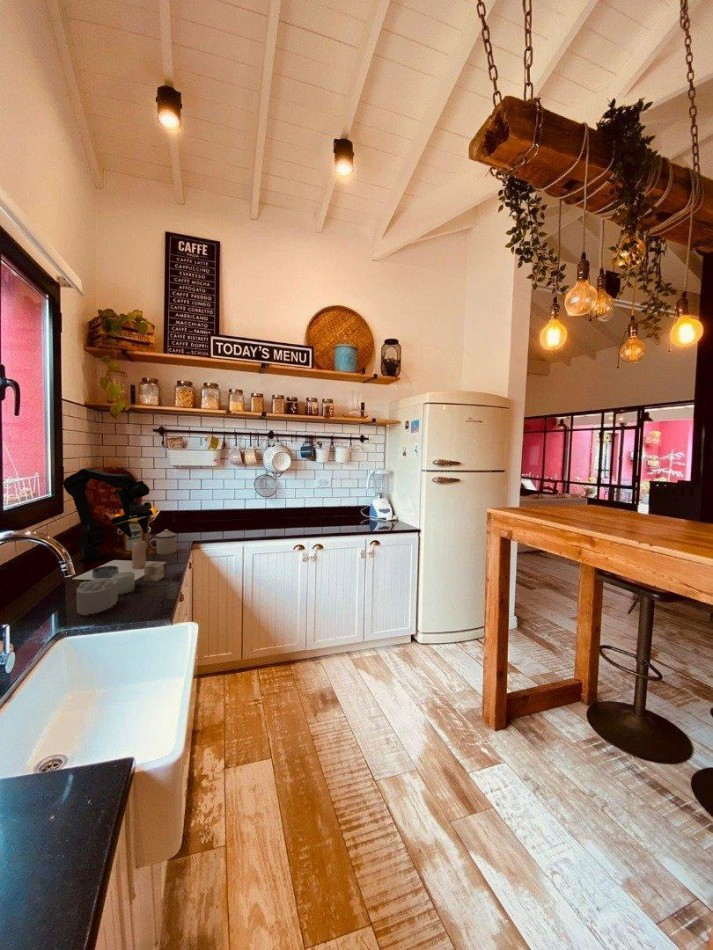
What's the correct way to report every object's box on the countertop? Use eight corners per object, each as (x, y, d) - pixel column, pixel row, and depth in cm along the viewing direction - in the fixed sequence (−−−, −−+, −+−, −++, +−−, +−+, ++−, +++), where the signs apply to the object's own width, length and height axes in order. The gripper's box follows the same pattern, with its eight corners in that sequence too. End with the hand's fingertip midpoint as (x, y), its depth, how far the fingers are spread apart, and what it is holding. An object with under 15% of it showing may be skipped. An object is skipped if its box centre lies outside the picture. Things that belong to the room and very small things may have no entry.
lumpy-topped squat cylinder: (121, 599, 140) (121, 575, 139) (104, 614, 127) (104, 588, 126) (88, 600, 138) (88, 575, 137) (68, 616, 125) (68, 589, 124)
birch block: (144, 584, 155) (144, 566, 154) (151, 580, 160) (151, 562, 159) (157, 584, 155) (157, 567, 154) (163, 580, 160) (163, 563, 159)
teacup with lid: (176, 549, 206) (176, 527, 205) (176, 554, 198) (176, 530, 197) (150, 551, 201) (150, 528, 200) (148, 556, 193) (148, 532, 192)
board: (71, 582, 154) (71, 578, 154) (114, 563, 180) (114, 559, 180) (133, 585, 153) (133, 581, 153) (166, 565, 179) (166, 561, 179)
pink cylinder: (129, 568, 168) (129, 543, 167) (136, 565, 173) (136, 540, 172) (141, 569, 168) (141, 543, 167) (147, 565, 173) (147, 540, 172)
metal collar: (87, 578, 155) (87, 572, 155) (102, 571, 163) (102, 565, 163) (109, 579, 155) (109, 572, 154) (122, 572, 163) (122, 566, 163)
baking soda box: (148, 549, 205) (148, 518, 204) (144, 552, 198) (144, 520, 197) (128, 549, 203) (128, 518, 202) (123, 552, 197) (123, 520, 196)
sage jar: (108, 594, 144) (108, 577, 143) (120, 587, 151) (120, 571, 150) (127, 594, 144) (127, 578, 143) (138, 587, 151) (138, 572, 150)
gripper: (126, 499, 167) (137, 534, 167) (157, 494, 185) (167, 526, 185) (105, 506, 169) (116, 541, 169) (138, 501, 187) (148, 532, 187)
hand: (138, 535), depth 178 cm, fingers open, 9 cm apart
